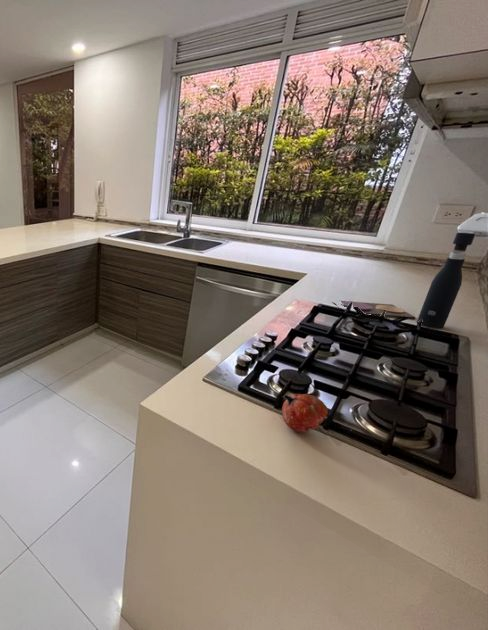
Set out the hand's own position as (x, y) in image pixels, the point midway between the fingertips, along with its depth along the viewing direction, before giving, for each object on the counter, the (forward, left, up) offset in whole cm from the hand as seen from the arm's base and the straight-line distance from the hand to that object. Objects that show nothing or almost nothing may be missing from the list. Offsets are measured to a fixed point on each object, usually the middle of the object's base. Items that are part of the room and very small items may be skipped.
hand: (483, 247), depth 105 cm
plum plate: (+24, -8, -25) cm, 36 cm away
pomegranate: (+66, +75, -26) cm, 103 cm away
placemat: (+20, -8, -25) cm, 33 cm away
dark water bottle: (+8, +5, -26) cm, 27 cm away
